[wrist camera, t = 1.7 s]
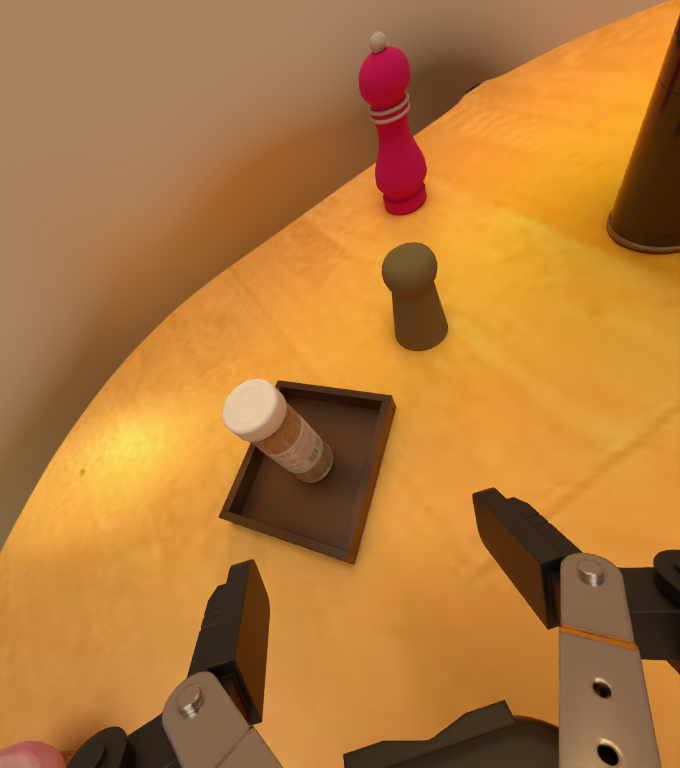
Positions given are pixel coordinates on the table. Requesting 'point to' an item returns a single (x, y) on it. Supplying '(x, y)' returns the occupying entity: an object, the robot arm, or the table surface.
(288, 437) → the sprinkles bottle
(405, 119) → the pepper mill
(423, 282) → the olive chess pawn
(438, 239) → the table surface
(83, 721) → the table surface
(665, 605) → the robot arm
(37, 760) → the cupcake
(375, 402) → the tray
